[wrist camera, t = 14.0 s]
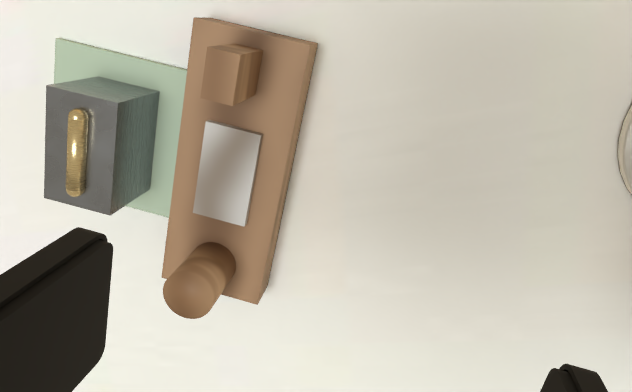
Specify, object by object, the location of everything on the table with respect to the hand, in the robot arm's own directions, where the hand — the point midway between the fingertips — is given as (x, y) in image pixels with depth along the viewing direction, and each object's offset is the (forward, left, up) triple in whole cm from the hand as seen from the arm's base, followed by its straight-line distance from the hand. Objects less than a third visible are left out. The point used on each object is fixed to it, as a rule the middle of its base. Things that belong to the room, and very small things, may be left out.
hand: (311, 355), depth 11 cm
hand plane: (+10, +6, -28) cm, 30 cm away
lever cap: (+19, +6, -28) cm, 34 cm away
